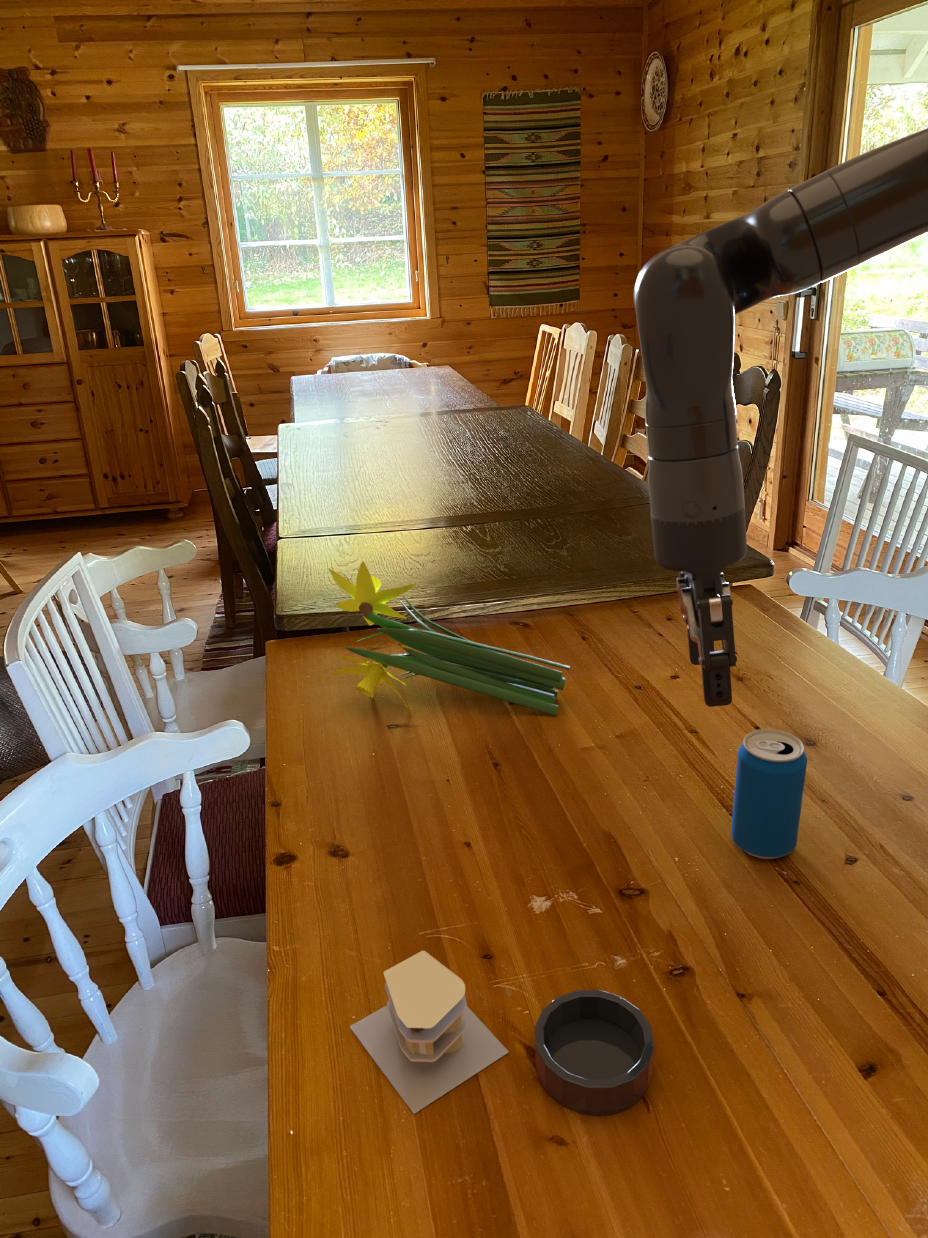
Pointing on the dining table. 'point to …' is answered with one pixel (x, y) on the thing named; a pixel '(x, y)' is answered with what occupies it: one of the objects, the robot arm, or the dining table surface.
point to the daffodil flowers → (443, 653)
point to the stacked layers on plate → (426, 1032)
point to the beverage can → (768, 793)
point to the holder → (594, 1052)
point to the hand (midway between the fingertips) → (709, 682)
